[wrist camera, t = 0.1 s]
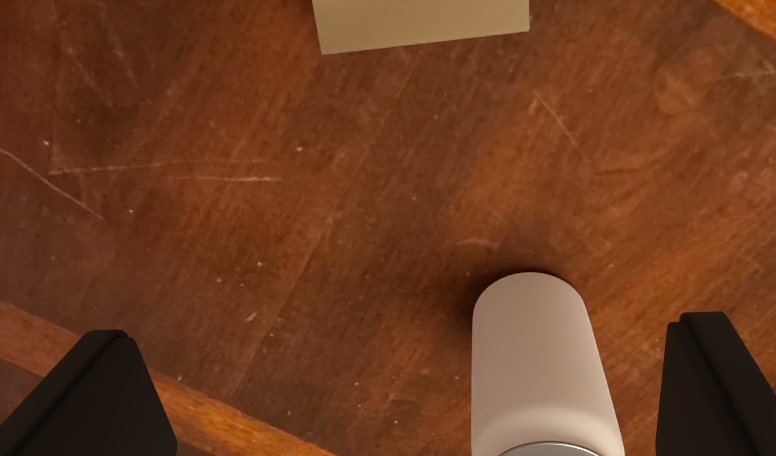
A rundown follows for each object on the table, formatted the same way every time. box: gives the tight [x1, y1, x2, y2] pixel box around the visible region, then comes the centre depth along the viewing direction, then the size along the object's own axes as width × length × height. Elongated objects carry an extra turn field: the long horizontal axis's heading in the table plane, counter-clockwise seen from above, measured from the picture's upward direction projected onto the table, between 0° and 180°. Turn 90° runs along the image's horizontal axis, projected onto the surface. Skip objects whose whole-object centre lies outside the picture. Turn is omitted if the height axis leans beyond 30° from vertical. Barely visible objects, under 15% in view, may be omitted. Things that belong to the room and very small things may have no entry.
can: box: [471, 272, 625, 456], centre depth 29 cm, size 6×6×12 cm
